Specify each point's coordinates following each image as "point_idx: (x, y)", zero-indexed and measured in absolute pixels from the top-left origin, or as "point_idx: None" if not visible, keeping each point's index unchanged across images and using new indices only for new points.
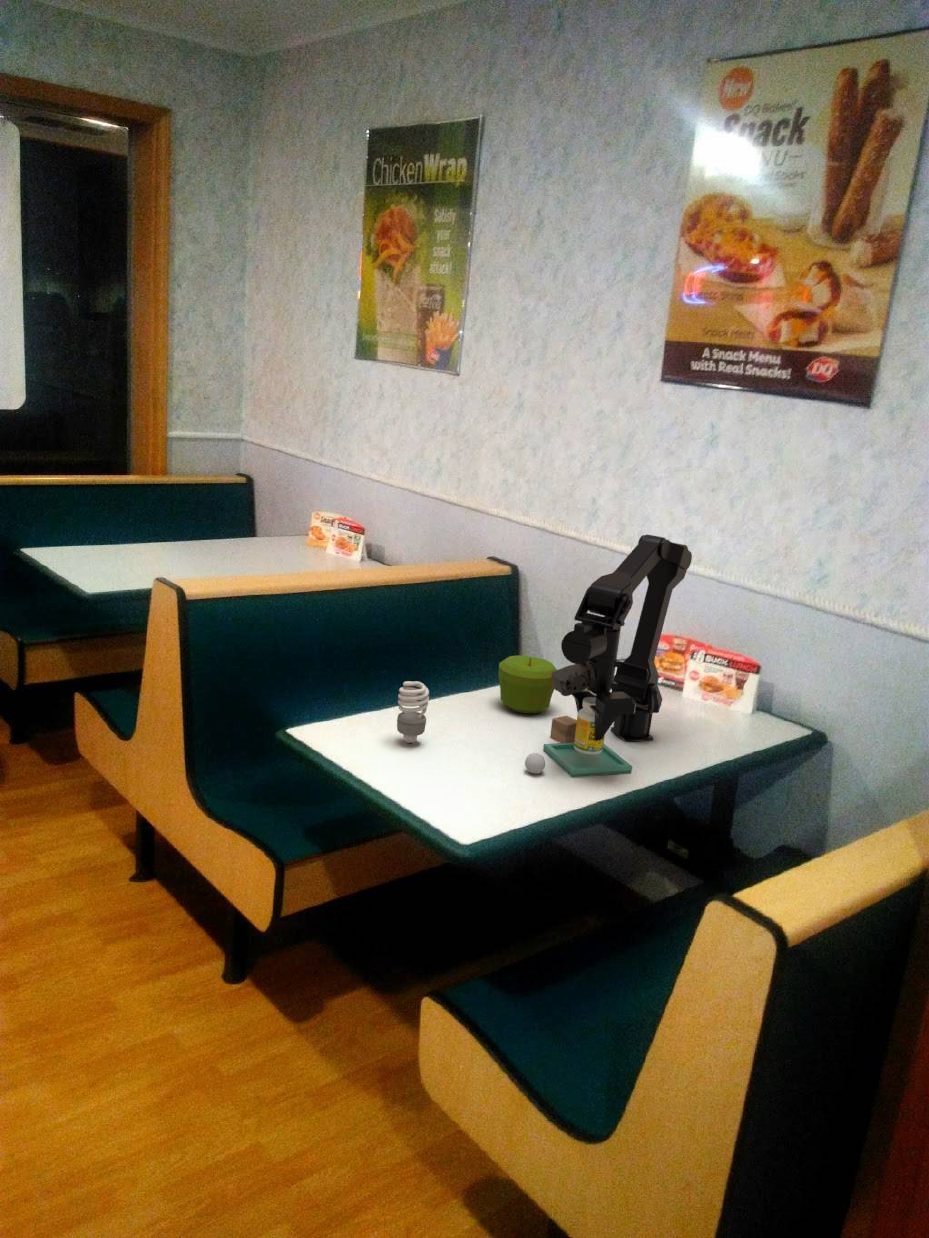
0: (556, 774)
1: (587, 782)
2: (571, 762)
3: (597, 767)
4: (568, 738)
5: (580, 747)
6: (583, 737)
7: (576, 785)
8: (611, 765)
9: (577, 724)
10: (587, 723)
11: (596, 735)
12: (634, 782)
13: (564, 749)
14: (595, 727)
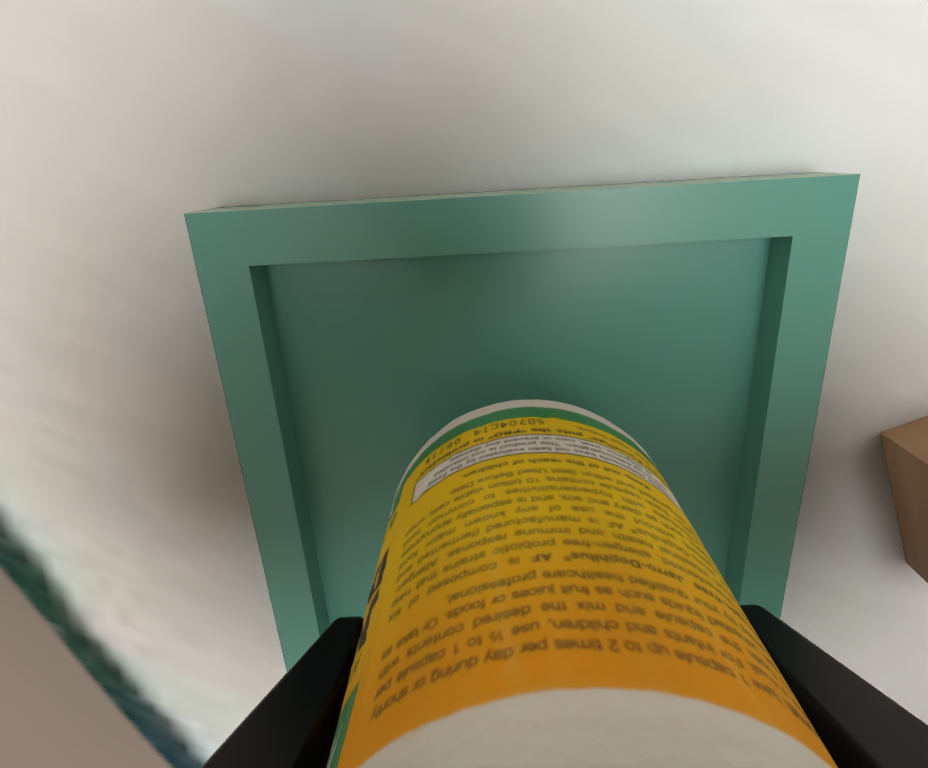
0: (280, 81)
1: (131, 302)
2: (459, 311)
3: (257, 460)
4: (920, 484)
5: (454, 435)
6: (429, 514)
7: (57, 179)
8: (299, 576)
9: (598, 567)
10: (375, 711)
11: (297, 664)
12: (167, 615)
13: (740, 366)
14: (261, 756)
